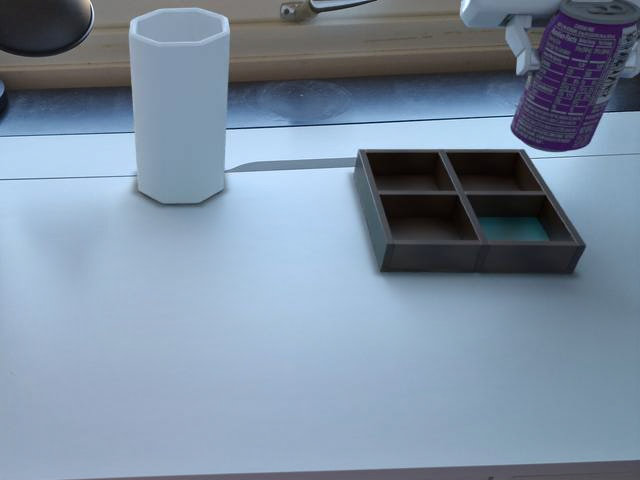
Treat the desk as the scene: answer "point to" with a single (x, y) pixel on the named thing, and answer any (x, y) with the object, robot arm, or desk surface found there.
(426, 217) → the grid
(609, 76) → the beverage can
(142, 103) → the cup
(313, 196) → the desk surface
